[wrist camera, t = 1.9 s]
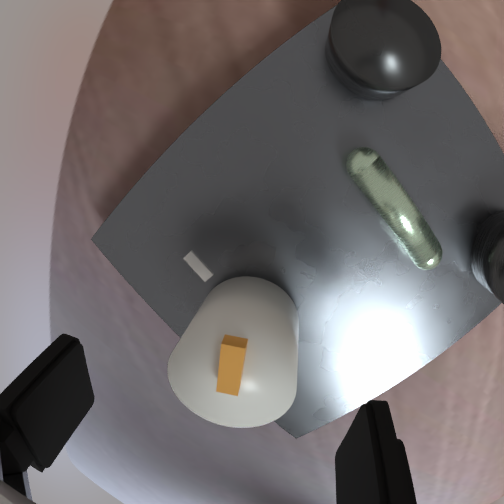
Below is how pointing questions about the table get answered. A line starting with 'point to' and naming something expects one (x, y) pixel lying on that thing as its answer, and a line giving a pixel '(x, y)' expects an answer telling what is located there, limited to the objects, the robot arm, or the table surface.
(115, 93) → the table surface
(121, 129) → the table surface
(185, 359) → the oval dial with ridge
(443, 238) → the base
